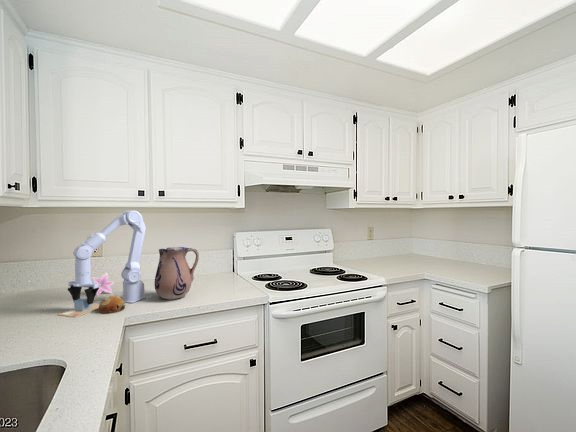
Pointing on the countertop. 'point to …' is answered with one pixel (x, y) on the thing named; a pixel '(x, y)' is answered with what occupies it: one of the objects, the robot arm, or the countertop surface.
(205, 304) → the countertop surface
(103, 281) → the lily
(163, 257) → the ceramic pitcher
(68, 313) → the envelope
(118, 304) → the bread roll
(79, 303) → the blue cube
